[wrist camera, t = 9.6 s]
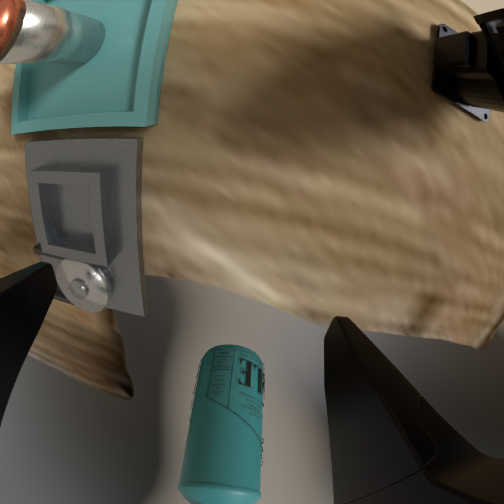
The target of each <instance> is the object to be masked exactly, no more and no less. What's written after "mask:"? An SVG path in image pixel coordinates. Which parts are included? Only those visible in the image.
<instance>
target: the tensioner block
mask: <svg viewBox="0 0 504 504" xmlns="http://www.w3.org/2000/svg"><path fill="white" fill-rule="evenodd" d="M142 150H143V137H71V138H53V139H40V140H31V141H28V142H25V157H26V172H27V183H28V192H29V200H30V207H31V213H32V219H33V225H34V230H35V235H36V240H37V245H36V246H35V247H34V248H33V249H34V253H36V254H40V257H41V261H43V262H47V263H50V264H52V266H53V269H54V273H55V276H56V280H57V291H56V293H55V296H54V298H53V299H56V300H59V301H62V302H66V303H69V304H72V305H75V306H77V307H79V308H80V309H82V310H85V311H88V312H99V311H101V310H103V309H104V308H105V307H106V308H110V309H114V310H118V311H122V312H127V313H131V314H135V315H139V316H145V314H146V312H147V310H148V308H147V300H146V289H145V279H144V265H143V248H142V221H141V176H142Z"/></svg>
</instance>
